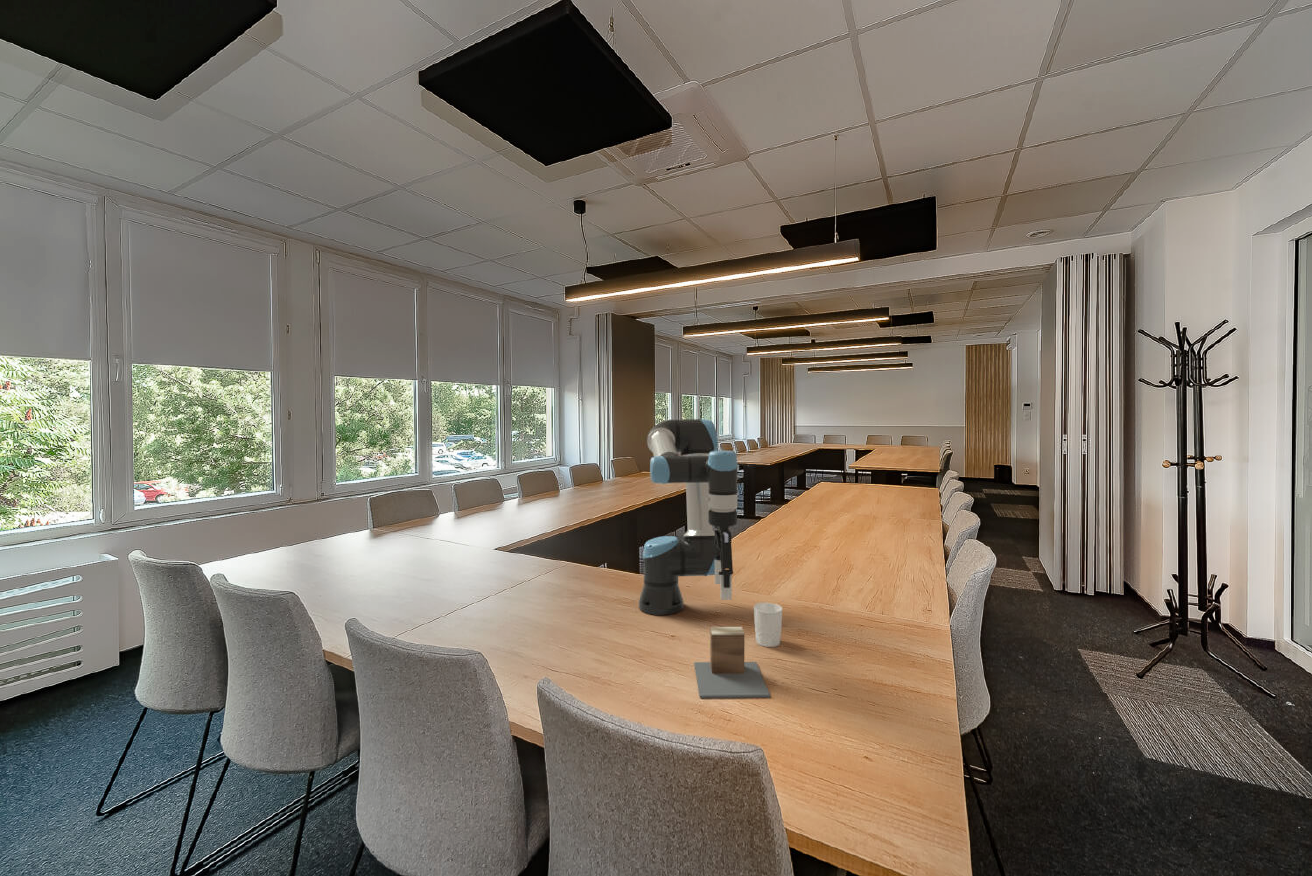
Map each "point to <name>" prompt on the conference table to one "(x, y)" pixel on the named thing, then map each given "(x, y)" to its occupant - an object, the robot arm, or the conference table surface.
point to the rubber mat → (730, 682)
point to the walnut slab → (727, 649)
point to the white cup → (768, 624)
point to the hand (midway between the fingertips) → (722, 591)
